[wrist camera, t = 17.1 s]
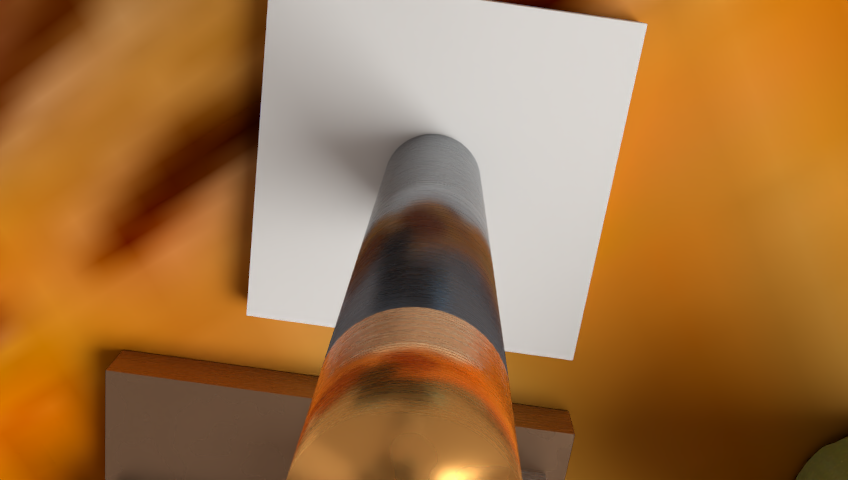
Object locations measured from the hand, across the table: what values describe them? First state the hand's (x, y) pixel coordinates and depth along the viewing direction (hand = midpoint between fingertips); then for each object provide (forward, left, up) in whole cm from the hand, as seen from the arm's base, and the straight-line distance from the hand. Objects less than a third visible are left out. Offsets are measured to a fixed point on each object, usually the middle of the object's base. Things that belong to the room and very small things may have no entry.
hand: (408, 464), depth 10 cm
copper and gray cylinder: (0, 0, -15) cm, 15 cm away
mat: (0, 0, -16) cm, 16 cm away
